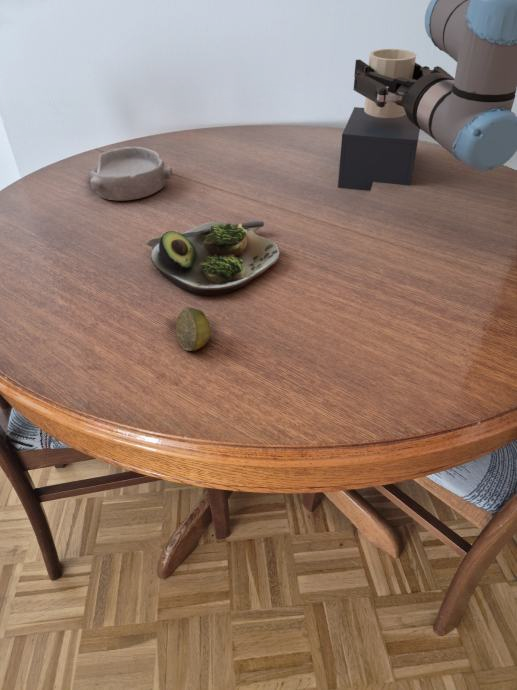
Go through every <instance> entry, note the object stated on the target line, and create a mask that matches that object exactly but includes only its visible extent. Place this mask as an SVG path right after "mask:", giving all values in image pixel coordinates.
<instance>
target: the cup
mask: <svg viewBox="0 0 517 690" xmlns="http://www.w3.org/2000/svg"><path fill="white" fill-rule="evenodd" d="M416 59H417V53H415V52H413V51H410V50H408V49H401V48H380V49H375V50H373V51H370V53H369V59H368V65H369V66H371V68H373V69H374V73H377V74H381V75H384V76H387V77H390V78H393V79H395V78H399V77H402V78H405V79H409V80H412V79H413V73H414V66H415V63H416ZM363 108H364V111H365V113H367V114H368V115H371V116H374V117H380V118H396V117H401V116H404V115H405V114H406V112H405V110H404V107H402V106H399V105H397V104H396V103H394V102H392V101H387V104H385V107H378V106H377V105H376V103H375V102H373V101H372V100H370V99H368V98H366V97H365V96H364V104H363Z"/></svg>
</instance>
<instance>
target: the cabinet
mask: <svg viewBox="0 0 517 690" xmlns="http://www.w3.org/2000/svg"><path fill="white" fill-rule="evenodd" d="M420 131H421V129H419V128H418V127H417V126H416V125H414V124H413V123H412V122H411V121H410V120H409V119H408V117H407V115H406V114H405V115H404V116H401V117H396V118H380V117H374V116H371V115H368V114H367V113H365V111H364V107H357V106H354V107H353V110H352V112H351V114H350V115H349V118H348V120H347V123H346V125H345V127H344V130H343V131H342V134H341V145H340V154H339V156H340V157H339V167H338V168H339V169H338V179H337V188H342V189H351V190H361V191H372V187H373V184H374V183H380V184H381V183H382V184H390V185H391V184H392V185H400V186H401V185H402V186H411V184H412V183H411V182H412V178H413V172H414V166H415V159H416V154H417V149H418V144H419V143H418V142H419V137H420Z"/></svg>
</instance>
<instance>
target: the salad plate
mask: <svg viewBox="0 0 517 690" xmlns="http://www.w3.org/2000/svg"><path fill="white" fill-rule="evenodd" d="M264 225H265V223H264V222H263V221H262V220H253V221H250V222H238V223H236V224H235V223H231V222H225V221H224V222H220V221H214V222H213V221H210V222H205V223H202V224H200V225H197V226H195V227H193V228H190V229H188V230H187V231H185V232H182V233H180V232H178V231H173V230H171V231H169V230H168V231H165V232H164V233H163V234H162V235H161V237H157V238H156V237H155V238H153V239H149V241H147V243H145V245H146V246H148V247H150V248H151V249H152V251H151V254H150V260H151V263H152V265H153V266H154V267H155V269H156V270H157V271H158V272H159V273H160V275H162V276H163V277H164V278H165V279H166V280H167V281H169V282H171V284H173V285H174V286H176V287H177V286H178V287H177V288H179V287H180V288H179V289H181V290H183V291H185V292H187V293H190V294H194V293H195V294H194V295H199V296H205V297H214V296H220V295H224V294H227V293H230V292H233V291H234V290H238V289H240V288H242V287H244V286H246V285H247V284H248V283H249V282H250V281H252V280H254V279H255V278H257V277H258V276H260V275H262V274H263V273H264V272H266V271H267V270H268V269H269V268H270V267H271V266H273V265H275V264H276V263H277V261H278V260H279V258H280V256H281V253H280V247H279V245H277V243H275V242H274V241H272V240H270V239H268V238H266V237H263V236H261V235H258V234H257V233H256V231H257V230H260V229H261V228H263V227H264Z"/></svg>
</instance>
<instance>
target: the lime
mask: <svg viewBox="0 0 517 690" xmlns="http://www.w3.org/2000/svg"><path fill="white" fill-rule="evenodd" d="M175 329H176V330H175V331H176V337H177V341H178V343H179V345H180V346H181V347H182V349H183V350H185V351H189V352H193V351H197V350H199V349H201V348H202V347H204V346H205V345H206V344H207V343H208V342H209V340H210V338H211V334H212V331H211V330H212V329H211V325H210V322H209V319H208V318H207V316H206V314H205V313H204V312H203V311H202V310H200V309H197V308H194V307H185V308H183V309H182V310H181V311H180V313H179V314H178V316H177V318H176V328H175Z"/></svg>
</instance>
